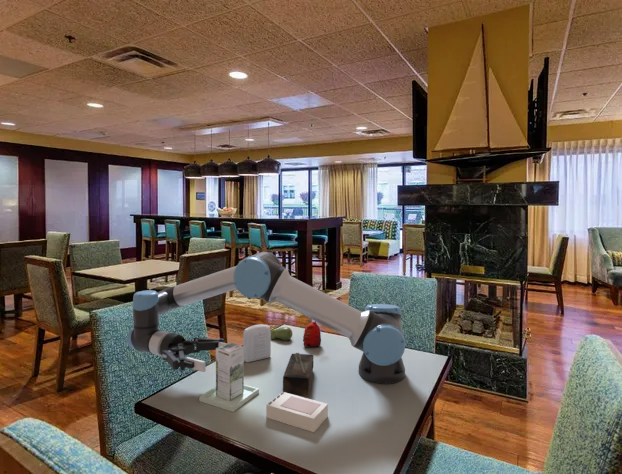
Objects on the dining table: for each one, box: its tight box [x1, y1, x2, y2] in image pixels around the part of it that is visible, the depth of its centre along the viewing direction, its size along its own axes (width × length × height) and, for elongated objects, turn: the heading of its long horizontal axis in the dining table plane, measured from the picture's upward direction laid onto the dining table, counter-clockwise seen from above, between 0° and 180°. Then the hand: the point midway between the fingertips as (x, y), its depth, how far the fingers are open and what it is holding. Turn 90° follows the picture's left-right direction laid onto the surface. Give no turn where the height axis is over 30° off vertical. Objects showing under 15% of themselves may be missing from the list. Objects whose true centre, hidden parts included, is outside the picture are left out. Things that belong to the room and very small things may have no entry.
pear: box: [271, 326, 293, 341], centre depth 161 cm, size 6×5×10 cm
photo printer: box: [242, 323, 272, 363], centre depth 140 cm, size 10×4×12 cm, turn 123°
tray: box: [198, 384, 260, 413], centre depth 113 cm, size 12×12×1 cm
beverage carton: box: [282, 352, 314, 399], centre depth 122 cm, size 8×19×7 cm, turn 175°
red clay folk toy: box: [302, 321, 322, 348], centre depth 153 cm, size 8×7×15 cm
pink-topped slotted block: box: [265, 391, 329, 433], centre depth 102 cm, size 14×8×4 cm, turn 62°
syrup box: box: [215, 342, 245, 401], centre depth 112 cm, size 6×6×14 cm
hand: (221, 358), depth 112 cm, fingers open, 13 cm apart
